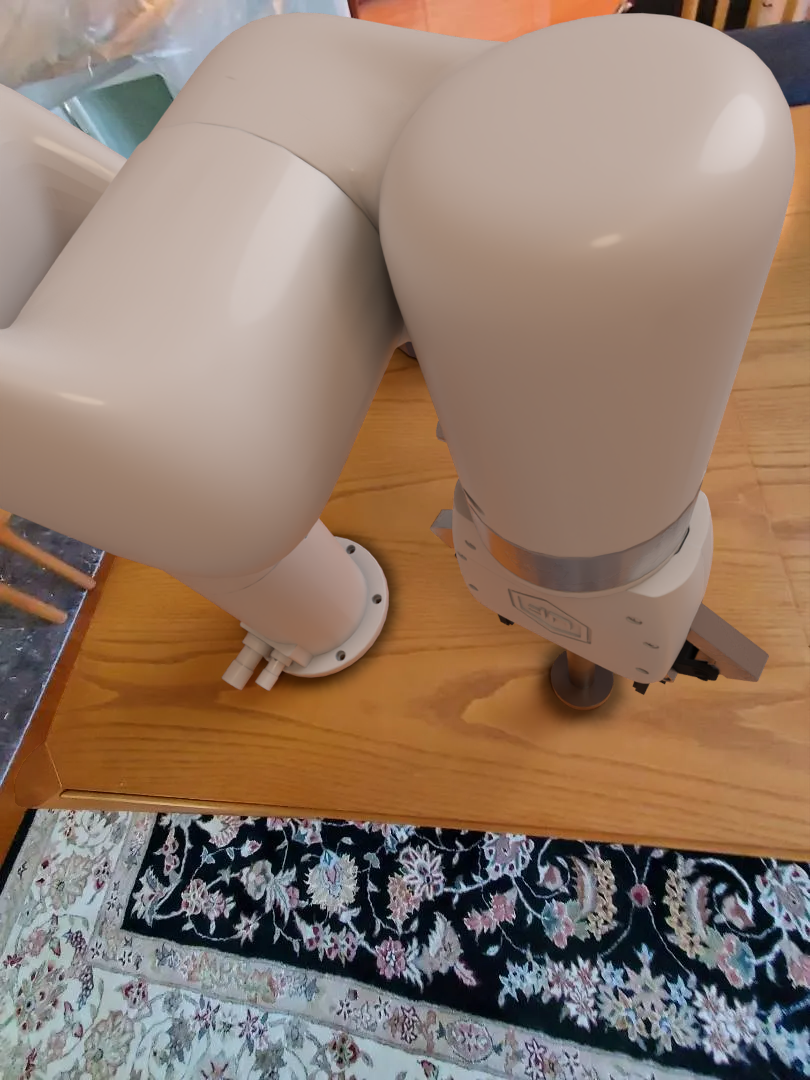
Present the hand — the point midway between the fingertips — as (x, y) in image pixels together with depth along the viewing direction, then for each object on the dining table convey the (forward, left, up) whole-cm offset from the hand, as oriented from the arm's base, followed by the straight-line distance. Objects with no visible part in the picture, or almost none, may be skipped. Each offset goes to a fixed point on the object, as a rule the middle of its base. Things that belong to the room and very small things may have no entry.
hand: (581, 634), depth 36 cm
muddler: (0, 0, -11) cm, 11 cm away
